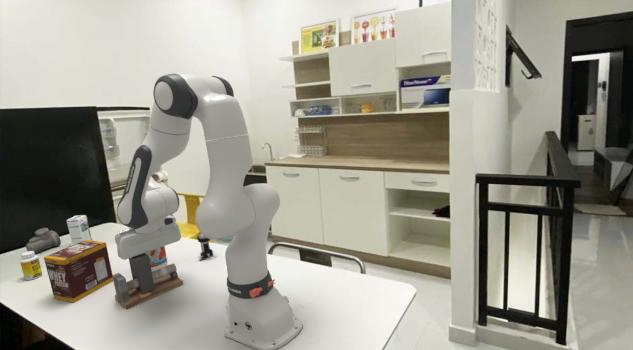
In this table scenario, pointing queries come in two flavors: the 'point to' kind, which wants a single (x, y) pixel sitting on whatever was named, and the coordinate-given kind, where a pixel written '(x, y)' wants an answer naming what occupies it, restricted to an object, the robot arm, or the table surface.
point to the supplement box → (79, 270)
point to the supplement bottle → (30, 265)
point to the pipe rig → (131, 296)
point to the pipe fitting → (43, 240)
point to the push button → (204, 247)
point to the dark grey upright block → (142, 272)
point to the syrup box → (79, 229)
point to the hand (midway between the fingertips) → (153, 261)
